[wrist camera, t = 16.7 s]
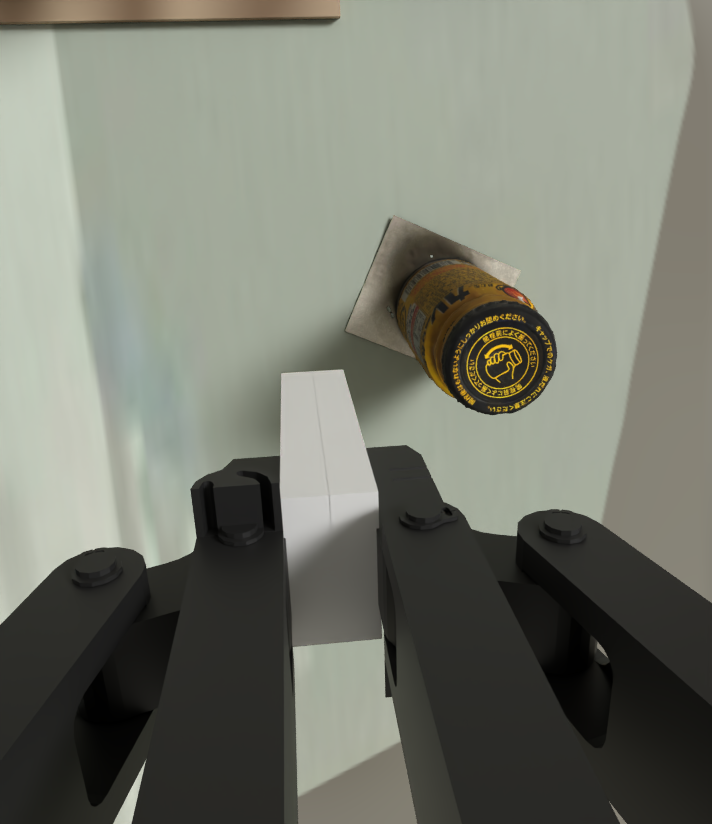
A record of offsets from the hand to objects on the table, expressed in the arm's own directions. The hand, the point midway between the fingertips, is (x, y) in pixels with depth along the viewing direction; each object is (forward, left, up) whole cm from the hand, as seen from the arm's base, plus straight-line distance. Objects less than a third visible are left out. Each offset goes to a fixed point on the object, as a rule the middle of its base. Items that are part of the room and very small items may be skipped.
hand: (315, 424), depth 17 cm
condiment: (+8, -2, -25) cm, 26 cm away
